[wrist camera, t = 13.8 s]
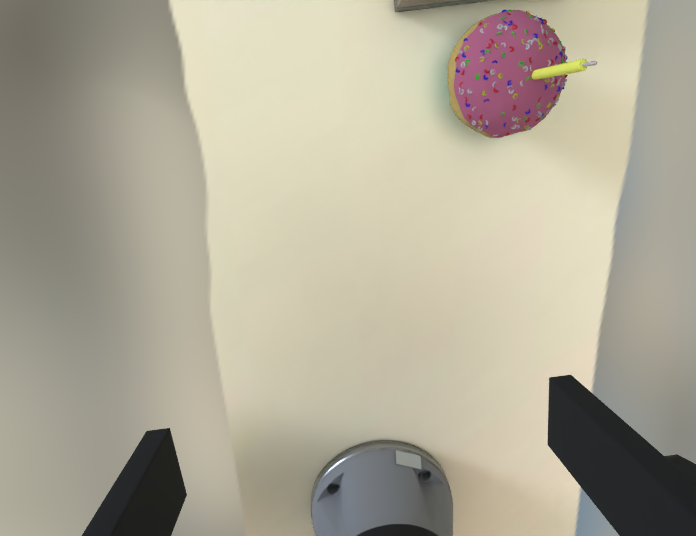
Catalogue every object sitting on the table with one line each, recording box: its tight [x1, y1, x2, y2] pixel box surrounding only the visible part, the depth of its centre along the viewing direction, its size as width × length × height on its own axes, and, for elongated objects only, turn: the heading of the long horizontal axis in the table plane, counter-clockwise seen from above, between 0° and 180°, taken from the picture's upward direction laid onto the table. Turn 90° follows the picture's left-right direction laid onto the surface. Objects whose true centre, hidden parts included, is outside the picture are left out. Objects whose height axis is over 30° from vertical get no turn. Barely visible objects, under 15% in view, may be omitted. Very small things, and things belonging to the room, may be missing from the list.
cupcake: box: [448, 10, 597, 138], centre depth 29 cm, size 9×8×12 cm
